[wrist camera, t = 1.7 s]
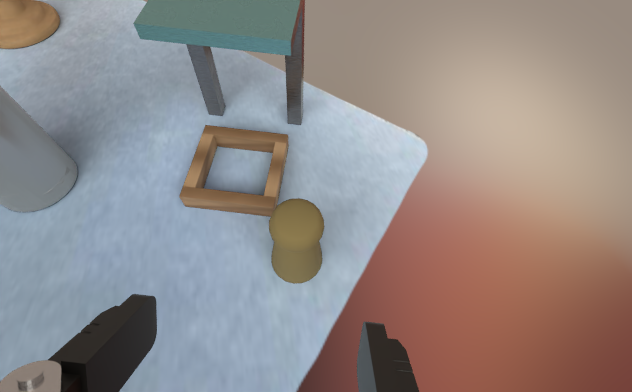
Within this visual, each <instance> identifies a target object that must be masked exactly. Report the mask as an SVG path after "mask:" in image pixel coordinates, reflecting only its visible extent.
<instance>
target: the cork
mask: <svg viewBox="0 0 632 392" xmlns="http://www.w3.org/2000/svg"><path fill="white" fill-rule="evenodd" d="M269 230H270V234H271V237H272V239H273V240H274V246H273V251H272V266H273V268H274V271H275V272H276V274H277V275H278V276H279V277H280V278H282V279H283V280H285V281H287V282H290V283H303V282H306V281H308V280H310V279H312V278H313V277H314V276H315V275H316V274H317V273H318V271H319V270H320V267H321V264H322V253H321V248H320V243H319V240H320V239H321V237H322V234H323V230H324V220H323V217H322V215H321V212H320V210H319V209H318V208H317V207H316V206H315V205H314V204H313V203H311V202H309V201H308V200H304V199H290V200H286V201H284V202H282V203H281V204H279V205H278V206H277V207H276V208H275V209H274V211H273V212H272V215H271V218H270V220H269Z"/></svg>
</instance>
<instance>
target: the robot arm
mask: <svg viewBox="0 0 632 392" xmlns="http://www.w3.org/2000/svg"><path fill="white" fill-rule="evenodd" d="M77 172H78V171H77V166H76V164H75V162H74V161H73V160H72V159H71V158H70V157H69V155H68V154H67V153H66V152H65V151H64V150H63V149H62V148H61V147H60V146H59V145H58V144H57V143H56V142H55V141H54V140H53V139H52V138H51V137H50V136H49V135H48V134H47V133H46V132H45V131H44V130H43V129H42V128H41V127H40V126H39V125H38V124H37V123H36V122H35V121H34V120H33V119H32V118H31V117H30V116H29V115H28V113H27V112H26V111H25V110H24V109H23V108H22V107H21V106H20V105H19V104H18V103H17V102H16V101H15V100H14V99H13V98H12V97H11V96H10V95H9V94H8V93H7V92H6V91H5V90H4V89H3V88H2V87H1V86H0V204H1V205H3V206H4V207H6V208H8V209H9V210H12V211H16V212H33V211H37V210H41V209H44V208H46V207H49V206H51V205H52V204H54V203H56V202H58V201H59V200H60V199H62V198H63V197H64V196H65V195H66V194H67V193H68V192H69V191H70V190H71V188H72V187H73V185H74V183H75V181H76V178H77ZM156 334H157V317H156V299H155V297H154V296H147V295H138V294H133V295H131V296H130V297H129V298H128V299H127V300H126V301H125V302H123V303H122V304H121V305H120V306H114V307H112V308H110V309H108V310H106V311H104V312H102V313H101V314H100V315H98V316H97V317H96V318H95V319H94V320H93V321H92V322H90V325H87V326H86V327H85V328H84V329H82V330H81V333H78V334H77V335H76V336H75V337H73V338H72V339H71V340H70V341H69V342H68V343H67V344H65V345H64V346H63V347H62V348H61V349H60V350H59V351H58V352H56V353H55V354H54V355H53V356H52V357H51V358H50V359H48V360H46V361H37V362H33V363H30V364H27V365H24V366H22V367H20V368H18V369H16V370H14V371H12V372H11V373H10V374H8V375H7V376H6V377H5V378H4V379H3V380H2V381H0V392H119V391H120V389H121V388H122V387H123V385H124V384H125V383H126V381H127V380H128V379H129V377H130V376H131V375H132V373H133V372H134V371H135V369H136V368H137V367H138V365H139V364H140V363H141V361H142V360H143V359H144V357H145V356H146V355H147V353H148V352H149V351H150V349H151V348H152V346H153V344H154V342H155V339H156ZM357 377H358V387H359V392H419V390H418V387H417V383H416V380H415V377H414V374H413V371H412V367H411V364H410V361H409V358H408V355H407V352H406V349H405V348H404V347H403V346H402V345H401V343H400V342H399V341H398V340H396V339H388V338H387V334H386V331H385V326H384V324H380V323H372V322H364V323H363V327H362V333H361V339H360V345H359V351H358V359H357Z"/></svg>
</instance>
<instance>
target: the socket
mask: <svg viewBox="0 0 632 392" xmlns="http://www.w3.org/2000/svg"><path fill="white" fill-rule="evenodd" d="M217 146H219V147H228V148H236V149H245V150H253V151H262V152H270V153H273V155H272V160H271V164H270V169H269V173H268V178H267V182H266V187H265V192H264V196H262V195H254V194H245V193H237V192H229V191H220V190H212V189H203V188H204V185H205V182H206V179H207V176H208V173H209V170H210V167H211V164H212V161H213V158H214V155H215V152H216V149H217ZM288 146H289V145H288V135H286V134H277V133H269V132H260V131H252V130H243V129H234V128H226V127H217V126H209V125H205V128H204V131H203V133H202V136H201V139H200V142H199V144H198V147H197V150H196V152H195V155H194V158H193V161H192V163H191V166H190V169H189V171H188V174H187V177H186V180H185V182H184V185H183V188H182V190H181V193H180V196H179V197H180V199H181V200H182V202H183V203H184V205H185V206H186V207H195V208H203V209H211V210H220V211H228V212H237V213H245V214H253V215H262V216H270V217H271V215H272V212H273V211H274V209H275V208H276V207H277V203H278V198H279V193H280V188H281V183H282V177H283V172H284V167H285V162H286V157H287V152H288Z"/></svg>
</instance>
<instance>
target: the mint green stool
mask: <svg viewBox="0 0 632 392" xmlns="http://www.w3.org/2000/svg"><path fill="white" fill-rule="evenodd" d="M304 13H305V0H148V2H147V3H146V5H145V6H144V8H143V9H142V11H141V12H140V14H139V16H138V17H137V19H136V20H135V22H134V26H135V28H136V30H137V32H138V35H139V37H140V39H146V40H155V41H164V42H173V43H182V44H186V45H187V48H188V51H189V54H190V57H191V60H192V63H193V66H194V69H195V72H196V75H197V79H198V82H199V85H200V88H201V91H202V94H203V97H204V100H205V103H206V106H207V109H208V112H209V115H218V116H222V115H223V112H224V109H225V103H224V99H223V95H222V91H221V87H220V83H219V79H218V75H217V71H216V68H215V64H214V60H213V56H212V52H211V48H210V47H218V48H226V49H235V50H244V51H253V52H263V53H271V54H280V55H285V60H286V61H285V62H286V89H287V115H288V124H296V125H301V122H302V117H303V70H304Z"/></svg>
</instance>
